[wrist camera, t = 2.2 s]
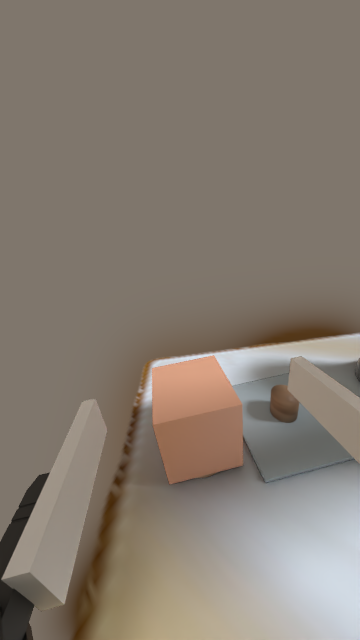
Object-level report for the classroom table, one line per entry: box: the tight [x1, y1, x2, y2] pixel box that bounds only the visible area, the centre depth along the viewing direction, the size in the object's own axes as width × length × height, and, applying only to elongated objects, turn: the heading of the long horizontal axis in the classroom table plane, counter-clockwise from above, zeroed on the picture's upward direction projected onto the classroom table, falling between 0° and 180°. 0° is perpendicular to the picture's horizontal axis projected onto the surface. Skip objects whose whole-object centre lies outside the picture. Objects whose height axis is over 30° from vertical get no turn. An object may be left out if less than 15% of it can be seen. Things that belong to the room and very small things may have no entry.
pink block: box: [152, 356, 243, 485], centre depth 27 cm, size 10×10×11 cm
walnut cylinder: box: [270, 385, 299, 423], centre depth 30 cm, size 4×4×4 cm
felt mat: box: [232, 373, 354, 483], centre depth 31 cm, size 16×16×1 cm
